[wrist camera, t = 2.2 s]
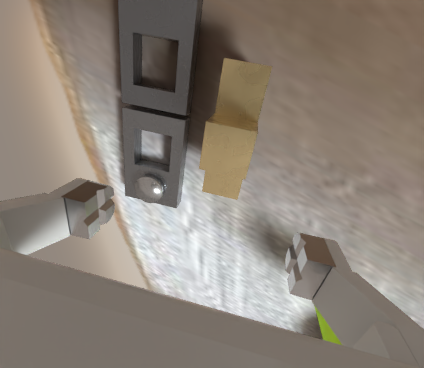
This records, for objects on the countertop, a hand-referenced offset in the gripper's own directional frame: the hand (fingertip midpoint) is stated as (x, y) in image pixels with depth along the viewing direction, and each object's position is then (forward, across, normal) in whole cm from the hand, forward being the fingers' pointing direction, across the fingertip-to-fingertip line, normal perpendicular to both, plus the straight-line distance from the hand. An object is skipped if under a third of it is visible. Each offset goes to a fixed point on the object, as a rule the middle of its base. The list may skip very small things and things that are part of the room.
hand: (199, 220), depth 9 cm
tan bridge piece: (+19, 0, -1) cm, 19 cm away
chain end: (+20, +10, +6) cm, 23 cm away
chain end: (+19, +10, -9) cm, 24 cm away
